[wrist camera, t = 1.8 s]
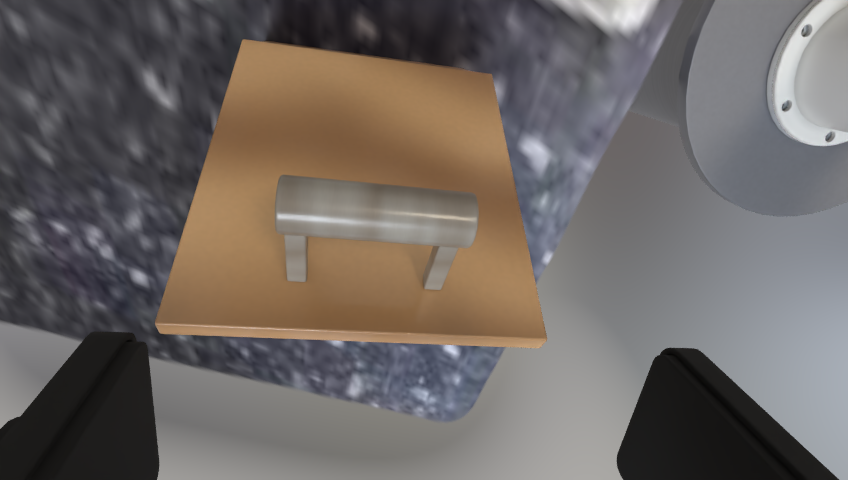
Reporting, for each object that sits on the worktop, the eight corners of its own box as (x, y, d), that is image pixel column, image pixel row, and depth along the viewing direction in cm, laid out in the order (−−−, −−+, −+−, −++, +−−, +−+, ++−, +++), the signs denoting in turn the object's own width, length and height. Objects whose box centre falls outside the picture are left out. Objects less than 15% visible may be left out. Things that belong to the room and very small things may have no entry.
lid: (540, 349, 19) (611, 270, 14) (159, 334, 16) (104, 235, 12) (488, 85, 29) (521, -10, 24) (243, 51, 26) (230, -61, 22)
